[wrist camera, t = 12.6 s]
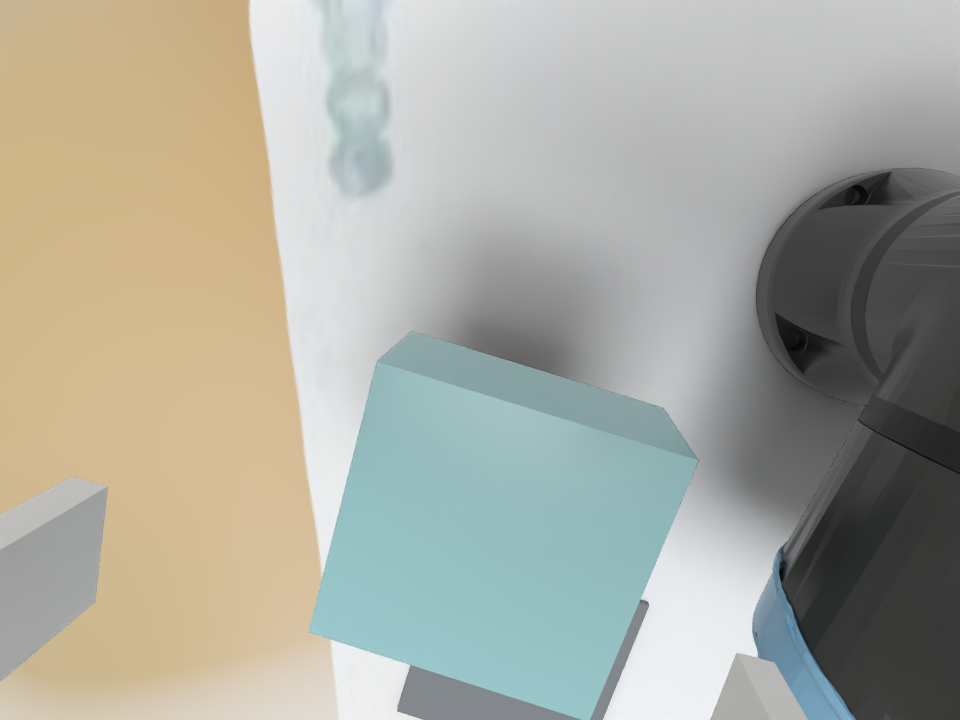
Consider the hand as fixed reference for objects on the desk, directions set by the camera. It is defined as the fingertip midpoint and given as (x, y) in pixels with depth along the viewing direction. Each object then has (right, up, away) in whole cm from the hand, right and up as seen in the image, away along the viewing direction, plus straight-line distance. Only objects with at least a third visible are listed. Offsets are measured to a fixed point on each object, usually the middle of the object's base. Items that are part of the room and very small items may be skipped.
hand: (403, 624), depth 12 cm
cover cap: (+2, -1, +16) cm, 17 cm away
